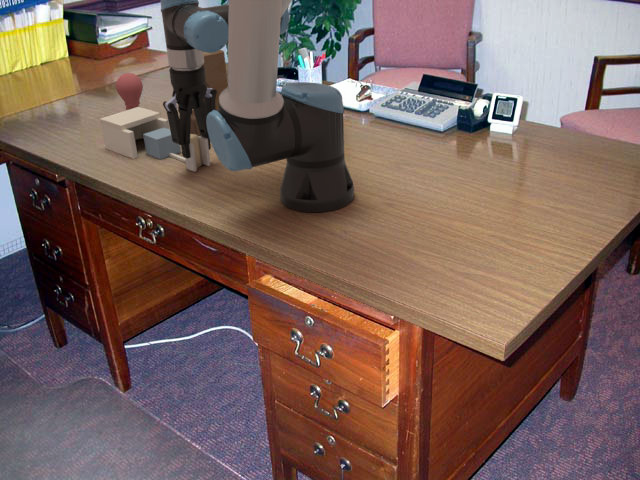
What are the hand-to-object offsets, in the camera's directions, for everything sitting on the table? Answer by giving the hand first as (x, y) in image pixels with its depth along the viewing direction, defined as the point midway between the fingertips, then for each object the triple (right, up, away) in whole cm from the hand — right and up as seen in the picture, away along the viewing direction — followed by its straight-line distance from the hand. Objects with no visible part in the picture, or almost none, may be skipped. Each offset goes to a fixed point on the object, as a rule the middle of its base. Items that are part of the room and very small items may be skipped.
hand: (198, 166), depth 163 cm
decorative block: (-1, +12, +23) cm, 26 cm away
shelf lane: (-17, +6, +14) cm, 23 cm away
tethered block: (-6, +3, +6) cm, 9 cm away
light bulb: (-24, +18, +36) cm, 47 cm away
